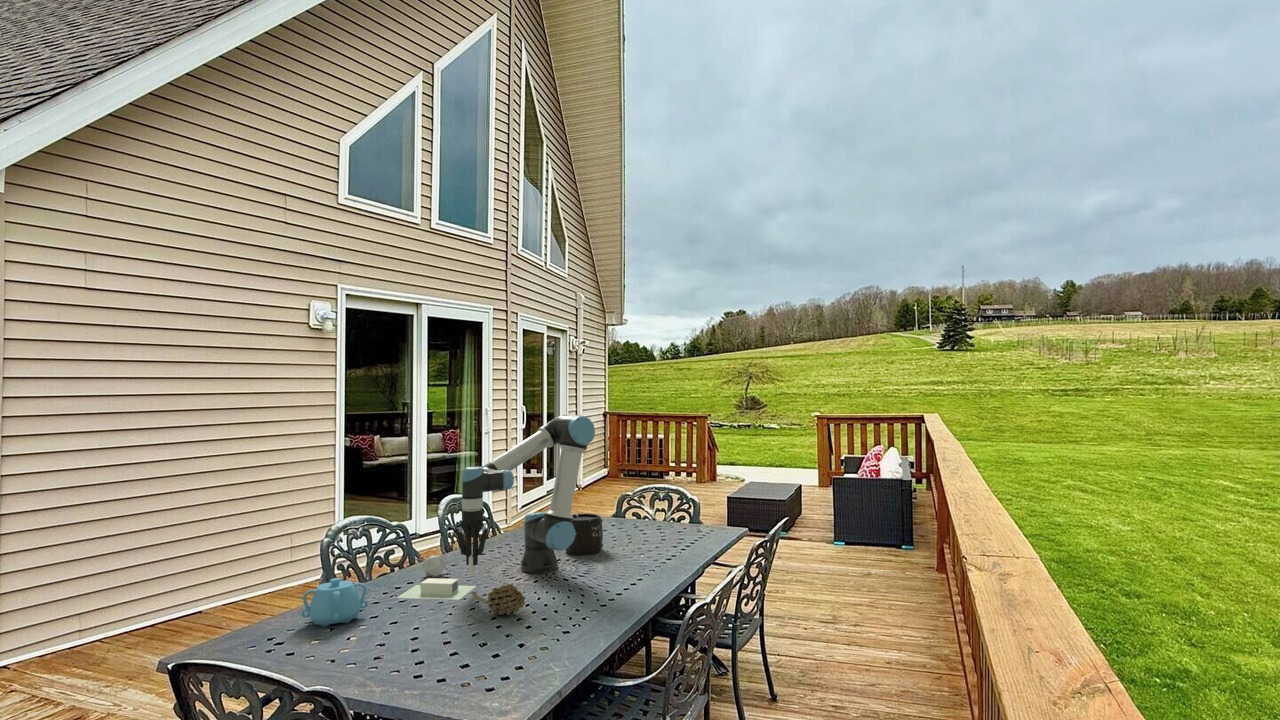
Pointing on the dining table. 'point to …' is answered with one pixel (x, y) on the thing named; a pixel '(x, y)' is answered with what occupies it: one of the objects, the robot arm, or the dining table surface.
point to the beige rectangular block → (439, 586)
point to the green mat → (416, 594)
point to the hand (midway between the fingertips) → (471, 573)
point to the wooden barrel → (586, 535)
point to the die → (434, 565)
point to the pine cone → (503, 599)
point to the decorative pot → (334, 602)
